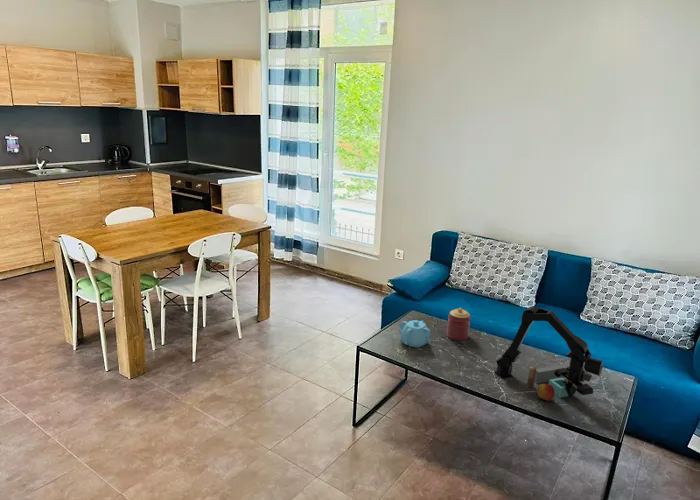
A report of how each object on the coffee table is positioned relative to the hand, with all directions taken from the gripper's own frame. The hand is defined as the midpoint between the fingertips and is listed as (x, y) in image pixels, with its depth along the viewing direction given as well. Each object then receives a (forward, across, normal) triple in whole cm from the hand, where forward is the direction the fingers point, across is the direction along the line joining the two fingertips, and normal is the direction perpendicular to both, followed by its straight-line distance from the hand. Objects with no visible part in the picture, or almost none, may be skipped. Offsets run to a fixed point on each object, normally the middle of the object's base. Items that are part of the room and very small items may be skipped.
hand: (570, 397), depth 229 cm
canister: (+2, +72, +17) cm, 74 cm away
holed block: (+1, +6, 0) cm, 7 cm away
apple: (+1, +3, +12) cm, 12 cm away
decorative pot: (+2, +70, +46) cm, 84 cm away
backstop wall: (+1, +18, -3) cm, 18 cm away
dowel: (+1, +14, +11) cm, 18 cm away
